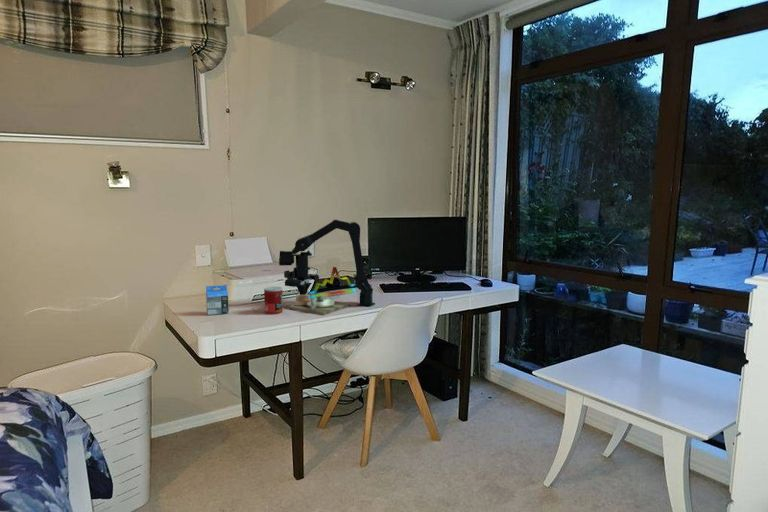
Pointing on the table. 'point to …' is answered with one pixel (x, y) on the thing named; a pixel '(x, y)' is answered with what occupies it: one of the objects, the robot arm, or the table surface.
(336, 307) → the beige square tray
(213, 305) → the label tape cartridge
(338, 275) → the chart
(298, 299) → the flange plate
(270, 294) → the canned food
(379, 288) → the table surface
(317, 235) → the robot arm
